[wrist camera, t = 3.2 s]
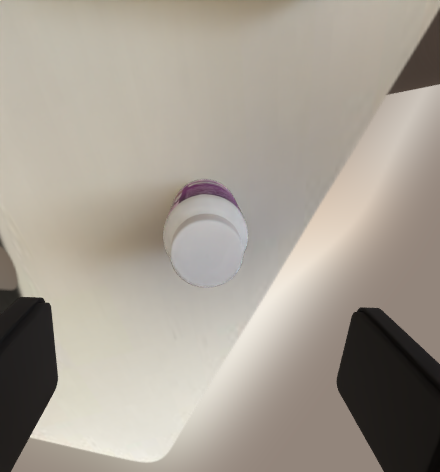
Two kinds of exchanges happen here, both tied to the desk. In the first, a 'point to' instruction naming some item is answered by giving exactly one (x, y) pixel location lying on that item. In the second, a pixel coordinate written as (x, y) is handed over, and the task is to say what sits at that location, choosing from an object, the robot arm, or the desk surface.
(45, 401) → the robot arm
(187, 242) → the pill bottle
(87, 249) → the desk surface
